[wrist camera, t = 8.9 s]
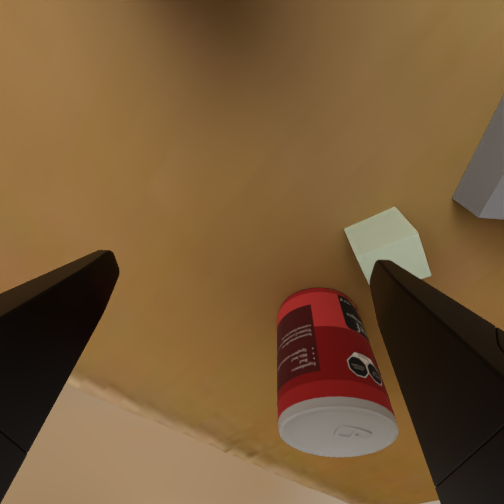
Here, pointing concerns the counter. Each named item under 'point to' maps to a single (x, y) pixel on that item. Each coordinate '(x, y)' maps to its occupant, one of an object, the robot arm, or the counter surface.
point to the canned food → (329, 378)
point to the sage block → (388, 243)
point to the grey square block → (486, 173)
